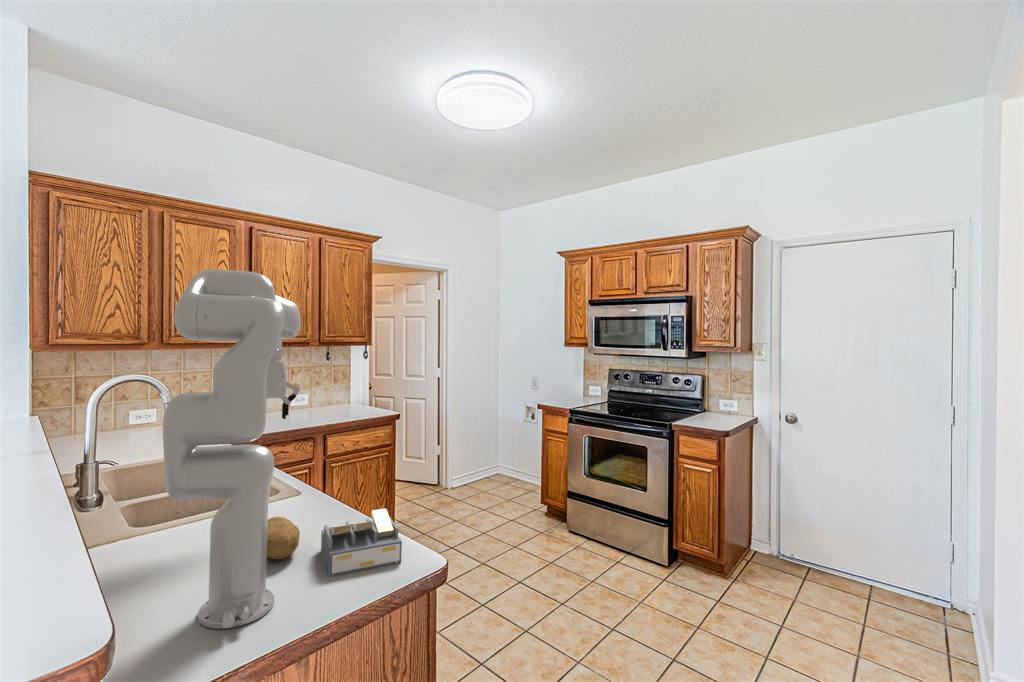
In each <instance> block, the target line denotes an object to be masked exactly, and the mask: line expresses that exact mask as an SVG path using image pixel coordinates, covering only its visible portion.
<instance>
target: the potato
mask: <svg viewBox="0 0 1024 682" xmlns="http://www.w3.org/2000/svg"><path fill="white" fill-rule="evenodd" d="M300 534H301V533H300V530H299V527H298V526H297V525H296V524H295V523H293V521H291V520H290V519H288V518H286V517H285V516H274V517H270V518H268V523H267V558H266V559H269V560H282V561H283V560H284V559H286V558H288V557H289V556H292V555H293V553H294V552H295V551H296V549H297V548H298V546H299V543H300Z"/></svg>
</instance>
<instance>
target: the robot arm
mask: <svg viewBox="0 0 1024 682" xmlns="http://www.w3.org/2000/svg"><path fill="white" fill-rule="evenodd" d="M275 291H276V290H275V288H274V284H273V283H272V281H271V280H270V279H269V278H268V277H266V276H265V275H264V274H262V273H258V272H254V271H244V270H231V269H219V268H207V269H204V270H201V271H199V272H198V273H196V274H195V275H194V276H193V277H192V278H191V280H190V281H189V282H188V284H187V285H186V288H185V289H184V291H183V292H182V294H181V296H180V297H179V300H178V301H177V303H176V307H175V311H174V316H173V317H174V320H173V321H174V325H175V326H174V327H175V328H176V330H177V333H178V334H179V335H180V336H181V337H183V338H184V339H187V340H191V341H204V342H205V341H207V342H208V341H209V342H211V341H212V342H213V341H214V342H215V341H216V342H236V343H234V344H233V345H232V346H231V347H230V348H229V349H227V351H225V353H223V355H221V357H220V358H219V359H218V360H217V361H216V363H215V364H214V365H213V368H212V391H210V392H209V391H208V392H207V391H204V392H199V391H198V392H196V391H195V392H194V391H193V392H184V393H179V394H177V395H175V396H174V397H172V398H171V399H170V400H169V402H168V403H167V404H166V408H165V410H164V412H163V419H162V445H163V447H162V448H163V467H164V485H165V489H166V493H167V495H168V496H169V498H171V499H173V500H175V501H195V500H196V501H199V500H209V499H227V500H226V502H224V504H223V505H221V507H220V508H219V509H218V510H217V511H216V513H215V514H214V515H213V518H212V519H211V523H210V529H209V531H210V532H209V533H210V534H209V537H210V538H209V563H208V564H209V571H208V600H207V601H206V602H205V603H203V604H202V605H201V607H200V608H199V609H198V613H197V616H198V617H197V618H198V622H199V624H200V625H201V626H204V627H206V628H209V629H215V630H216V629H217V630H221V629H230V628H237V627H241V626H244V625H247V624H250V623H252V622H255V621H257V620H258V619H260V618H262V617H264V616H265V615H266V614H267V613H268V612H269V611H270V610H271V609H272V608H273V606H274V603H275V596H274V595H275V594H274V593H273V592H272V591H271V590H269V589H267V587H266V586H267V585H266V583H267V559H268V558H267V523H268V519H269V517H268V516H269V500H270V495H271V487H272V486H271V485H272V482H273V476H274V471H275V456H274V454H273V452H272V450H270V449H269V448H267V447H266V446H263V445H260V444H259V445H258V444H250V442H254V441H256V440H258V439H260V438H261V436H262V435H263V433H264V432H265V428H266V421H267V420H266V419H267V399H281V400H282V402H283V403H281V404H282V405H281V407H282V408H281V418H282V419H283V420H286V419H287V416H289V411H290V410H289V405H290V404H291V402H293V400H295V399H296V398H297V395H298V394H299V392H300V391H301V388H300V387H299V386H297V385H295V384H293V383H290V382H288V381H287V371H286V370H287V368H286V363H285V361H284V360H282V350H283V349H282V347H283V339H293V338H296V337H297V336H298V335H299V333H300V331H301V328H302V327H301V326H302V318H301V313H300V309H299V307H298V305H297V304H296V303H295V302H293V301H291V300H289V299H286V298H284V297H282V296H279V295H277V294H276V292H275ZM287 389H291V390H292V392H291V394H290V395H289V396H288V397H287V396H286V395H287ZM246 443H249V444H246ZM214 445H215V446H214Z"/></svg>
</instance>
